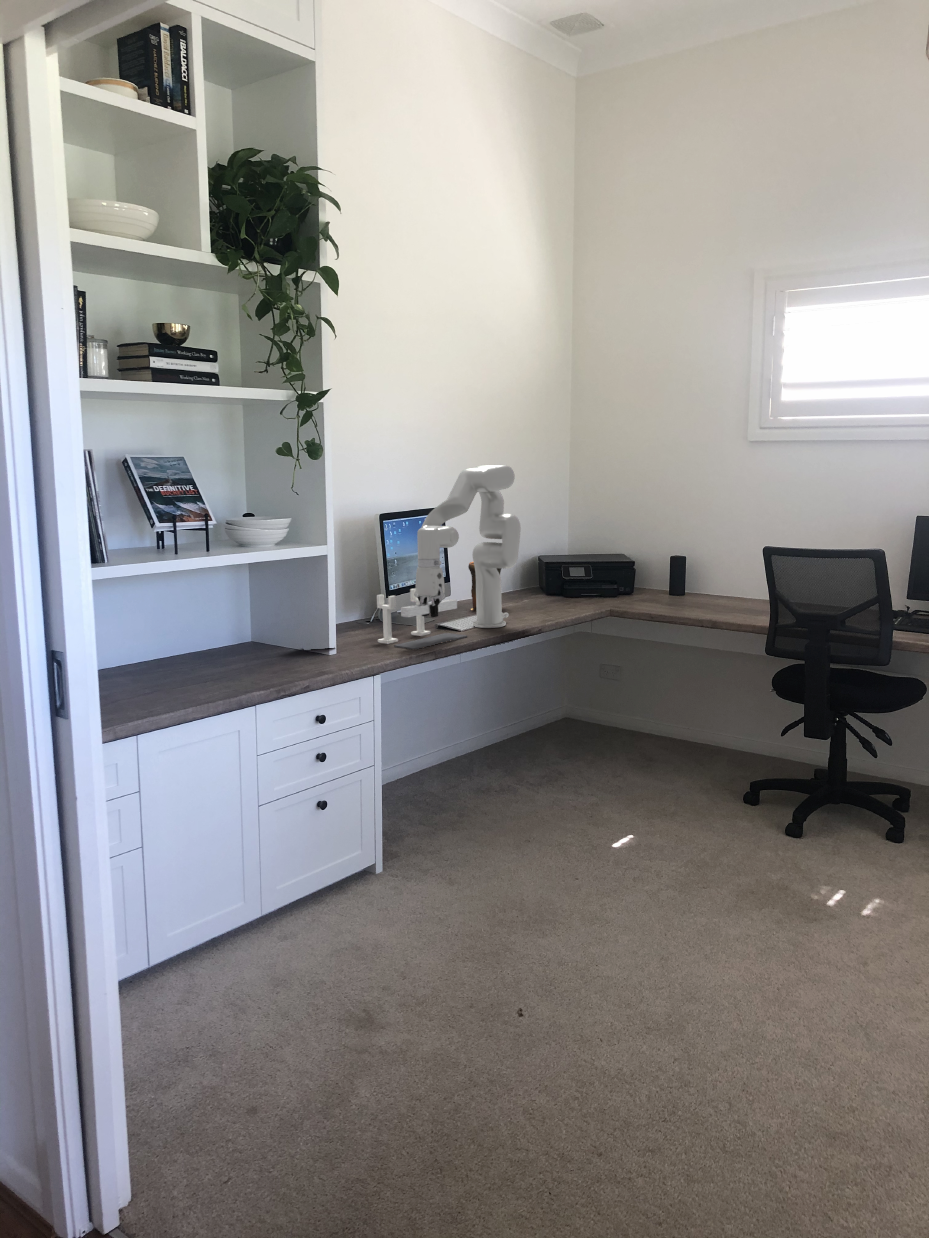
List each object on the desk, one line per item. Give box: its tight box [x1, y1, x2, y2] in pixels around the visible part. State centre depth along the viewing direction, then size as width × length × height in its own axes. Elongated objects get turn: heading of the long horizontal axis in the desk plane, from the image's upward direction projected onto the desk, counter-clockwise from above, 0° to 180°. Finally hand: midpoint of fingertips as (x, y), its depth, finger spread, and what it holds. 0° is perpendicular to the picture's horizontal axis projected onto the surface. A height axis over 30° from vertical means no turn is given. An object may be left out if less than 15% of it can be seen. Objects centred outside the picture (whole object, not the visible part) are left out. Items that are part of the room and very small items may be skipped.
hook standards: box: [376, 588, 432, 645], centre depth 339 cm, size 22×7×16 cm, turn 140°
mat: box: [393, 632, 468, 650], centre depth 332 cm, size 27×10×1 cm, turn 140°
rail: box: [400, 598, 458, 618], centre depth 330 cm, size 25×4×3 cm, turn 140°
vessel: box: [467, 561, 502, 613], centre depth 397 cm, size 14×14×20 cm
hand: (430, 615), depth 330 cm, fingers closed on rail, 3 cm apart
